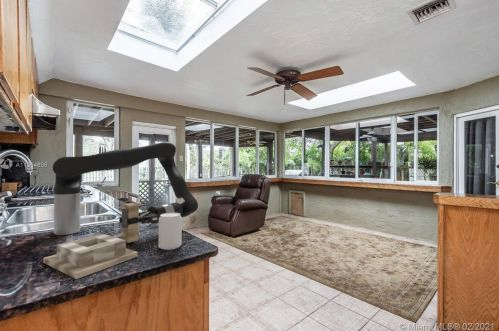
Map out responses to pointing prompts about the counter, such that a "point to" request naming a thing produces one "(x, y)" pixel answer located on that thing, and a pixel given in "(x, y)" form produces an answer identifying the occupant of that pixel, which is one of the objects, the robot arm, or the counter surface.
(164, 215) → the beverage can
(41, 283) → the counter surface
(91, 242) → the wooden socket base
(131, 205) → the tan long rectangular block
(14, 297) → the counter surface
